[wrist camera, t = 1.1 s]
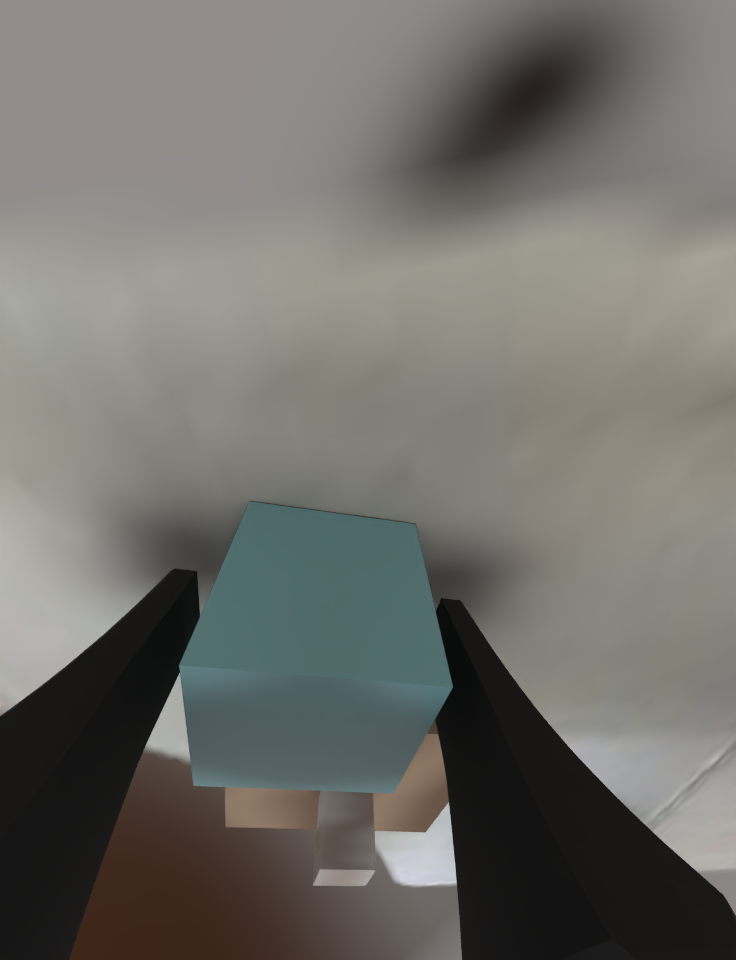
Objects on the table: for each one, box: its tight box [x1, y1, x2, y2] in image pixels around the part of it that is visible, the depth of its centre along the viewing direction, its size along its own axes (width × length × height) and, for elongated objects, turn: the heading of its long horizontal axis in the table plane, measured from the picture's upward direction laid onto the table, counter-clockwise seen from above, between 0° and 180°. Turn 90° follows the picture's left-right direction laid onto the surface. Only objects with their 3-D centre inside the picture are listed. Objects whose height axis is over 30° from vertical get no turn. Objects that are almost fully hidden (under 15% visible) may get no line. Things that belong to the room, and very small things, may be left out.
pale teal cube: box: [179, 501, 453, 794], centre depth 10 cm, size 5×5×5 cm
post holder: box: [225, 720, 449, 886], centre depth 18 cm, size 12×12×4 cm
